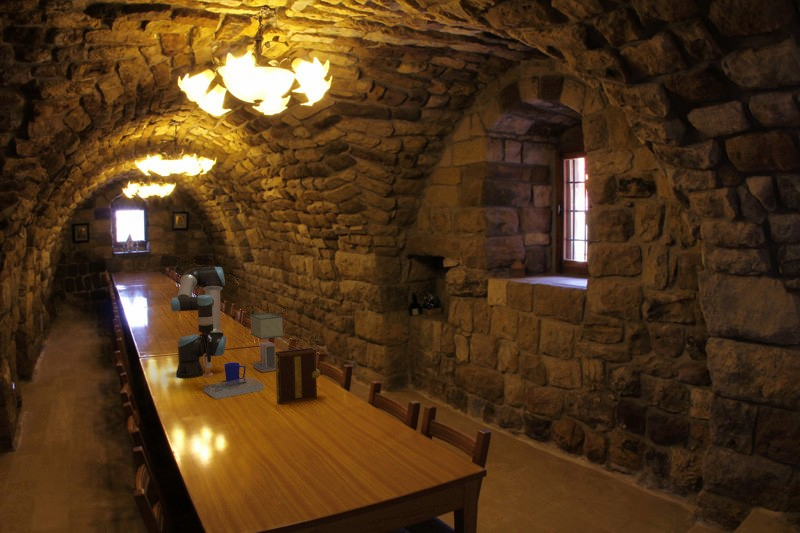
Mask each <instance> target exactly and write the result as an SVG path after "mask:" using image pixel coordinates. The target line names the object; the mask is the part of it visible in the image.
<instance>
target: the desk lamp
mask: <svg viewBox="0 0 800 533" xmlns="http://www.w3.org/2000/svg"><path fill="white" fill-rule="evenodd" d="M249 316H250V334H251V335H252V336H253V337H255V338H257V339H260V340H265V341H261V342H259V343H258V344H259V362H254V363H251V365H252V366H254V369H256V370H258V371H259V372H261V373H267V372H274V371H275V372H276V359H275V352H276V344H275V343H274V342H272V341H271V342H270V340H269V339H274V338H283V337H284V334H283V333H284V332H283V330H284V329H283V326H284V325H283V316H282V315H280V314H278V313H274V312H266V313H256V314H255V313H254V314H250V315H249Z"/></svg>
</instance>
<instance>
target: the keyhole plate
mask: <svg viewBox="0 0 800 533" xmlns="http://www.w3.org/2000/svg"><path fill="white" fill-rule="evenodd" d="M264 390H265V389H264V383H263V382H261V381H259V380H257V379H255V378H252V377H250V376H249V377H244V378H243V379H238V380H232V381H222V382H217V383H210V384H206V385H203V392H204V393H205V394H206V395H208V396H210V398H213V399H215V400H218V399H219V400H220V399H224V398H230V397H235V396H239V395H245V394H249V393H254V392H261V391H264Z"/></svg>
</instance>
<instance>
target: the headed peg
mask: <svg viewBox="0 0 800 533" xmlns="http://www.w3.org/2000/svg"><path fill="white" fill-rule="evenodd" d="M205 355H206V353H204V357H205ZM204 369H205V370H204V371H205V372H203V375H202V377H203V378H206V379H207V378H208V379H209V378H212V377H213V376H214V374H213V372H211V368H206V357H205V367H204Z"/></svg>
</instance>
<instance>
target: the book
mask: <svg viewBox="0 0 800 533" xmlns="http://www.w3.org/2000/svg"><path fill="white" fill-rule="evenodd" d="M316 352H317V350H316V349H315V348H313V347H305V348H297V349H289V350H281V351H280V350H279V351H275V361H276V371H275V381H276V384H275V385H276V390H275V391H276V403H277V404H278V405H288V404H294V403H295V404H296V403H301V402H307V401H312V400H313V401H314V400H317V399H318V390H317V388H318V385H317V383H318V382H317V379H318V378H319V377H321V371H320V369H318V368H317V355H316Z"/></svg>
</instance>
